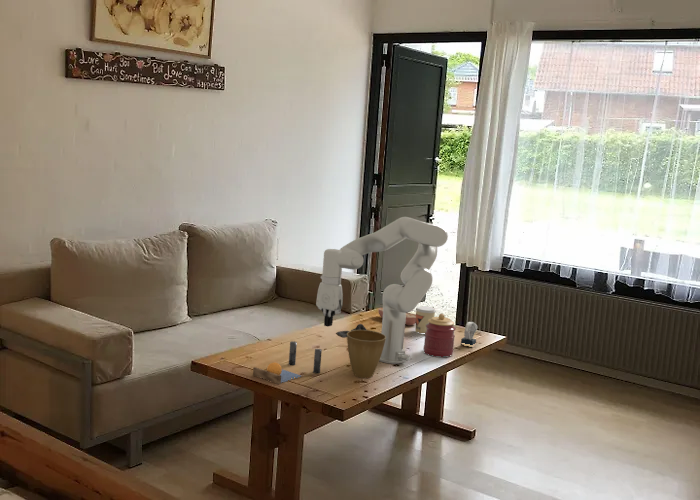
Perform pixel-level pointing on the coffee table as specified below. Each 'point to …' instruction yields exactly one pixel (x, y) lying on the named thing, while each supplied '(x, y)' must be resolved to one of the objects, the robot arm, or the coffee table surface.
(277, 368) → the ball
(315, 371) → the post
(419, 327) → the coffee cup
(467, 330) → the grey upright piece
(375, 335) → the plant pot
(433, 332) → the canister
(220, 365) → the coffee table surface
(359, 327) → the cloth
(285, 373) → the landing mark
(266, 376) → the backstop
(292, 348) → the post
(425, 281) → the robot arm
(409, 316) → the anatomical model
